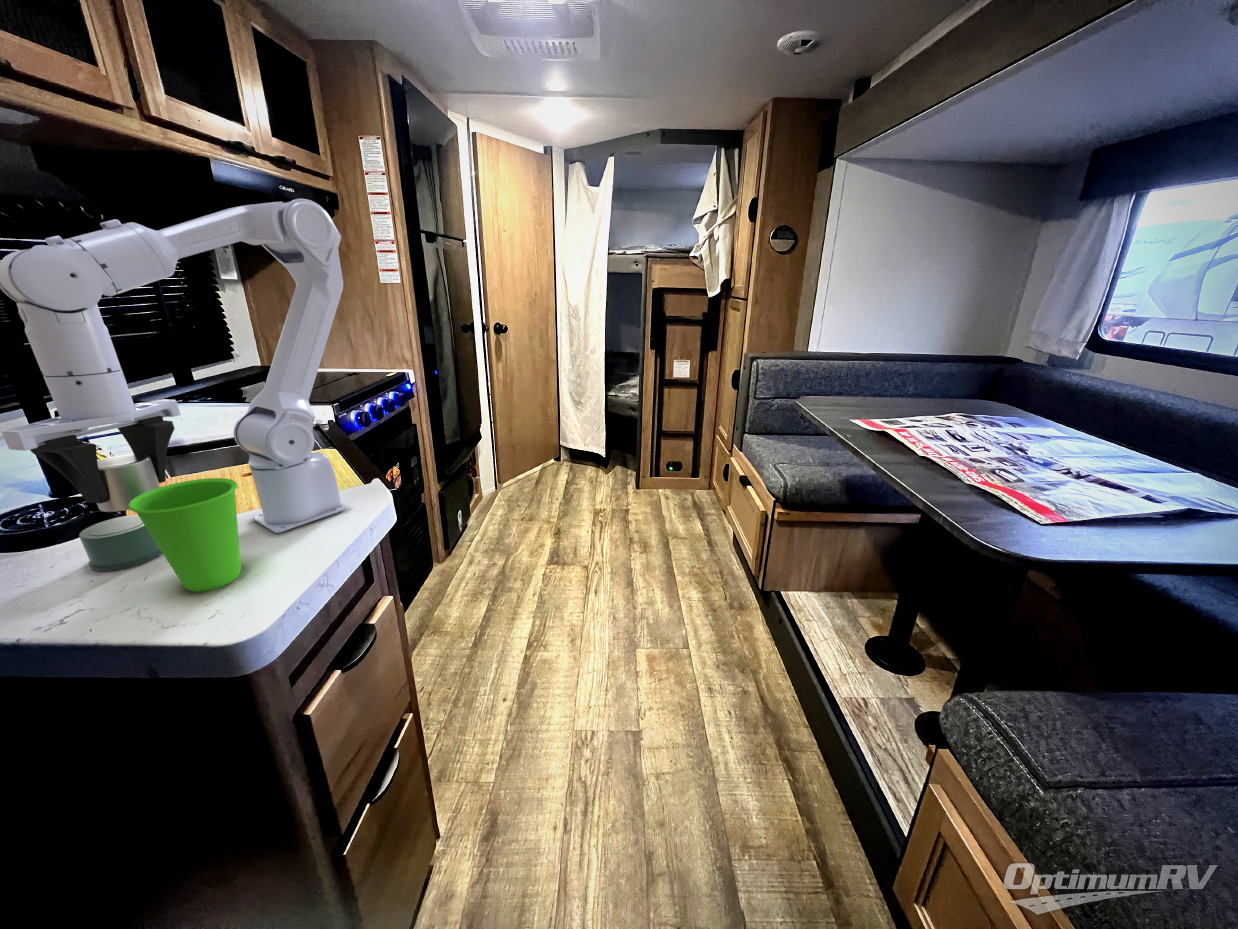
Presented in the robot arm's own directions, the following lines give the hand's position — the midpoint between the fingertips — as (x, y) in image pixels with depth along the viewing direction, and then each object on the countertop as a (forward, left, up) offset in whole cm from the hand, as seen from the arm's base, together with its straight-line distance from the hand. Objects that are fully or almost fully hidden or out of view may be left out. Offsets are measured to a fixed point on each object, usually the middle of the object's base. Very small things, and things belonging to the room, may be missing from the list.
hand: (128, 491), depth 55 cm
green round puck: (+1, -6, -10) cm, 12 cm away
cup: (-3, +9, -10) cm, 14 cm away
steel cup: (0, 0, -1) cm, 1 cm away
